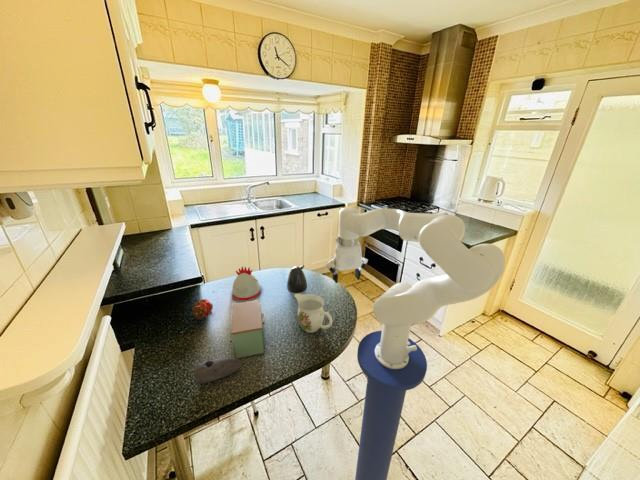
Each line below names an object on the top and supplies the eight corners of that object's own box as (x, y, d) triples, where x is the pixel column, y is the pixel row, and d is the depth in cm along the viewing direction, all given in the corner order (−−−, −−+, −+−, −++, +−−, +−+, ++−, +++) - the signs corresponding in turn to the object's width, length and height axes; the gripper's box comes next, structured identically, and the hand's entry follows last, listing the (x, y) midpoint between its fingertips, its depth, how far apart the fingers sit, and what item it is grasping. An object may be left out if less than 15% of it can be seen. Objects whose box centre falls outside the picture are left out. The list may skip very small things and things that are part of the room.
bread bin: (264, 322, 111) (262, 299, 106) (267, 352, 97) (264, 327, 91) (236, 327, 108) (232, 303, 103) (235, 359, 94) (230, 333, 89)
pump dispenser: (311, 292, 132) (311, 266, 125) (297, 301, 124) (296, 275, 118) (297, 284, 138) (296, 260, 131) (283, 293, 130) (281, 267, 124)
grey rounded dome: (257, 300, 125) (254, 274, 119) (229, 300, 125) (224, 274, 119) (263, 284, 137) (260, 260, 131) (237, 284, 138) (233, 259, 131)
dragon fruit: (201, 328, 110) (203, 314, 121) (217, 314, 111) (217, 301, 121) (185, 317, 106) (189, 303, 117) (201, 303, 107) (203, 290, 118)
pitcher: (324, 345, 100) (325, 317, 94) (288, 327, 109) (286, 301, 103) (337, 328, 109) (339, 301, 103) (303, 312, 117) (302, 287, 111)
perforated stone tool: (242, 363, 92) (240, 349, 89) (243, 375, 88) (241, 361, 85) (197, 375, 88) (193, 361, 85) (196, 389, 83) (192, 374, 80)
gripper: (329, 247, 90) (328, 288, 97) (374, 242, 94) (370, 281, 102) (323, 239, 97) (323, 277, 104) (365, 234, 101) (362, 272, 108)
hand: (346, 279), depth 103 cm, fingers open, 8 cm apart
